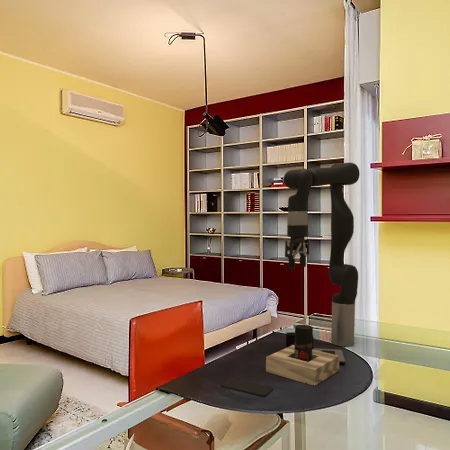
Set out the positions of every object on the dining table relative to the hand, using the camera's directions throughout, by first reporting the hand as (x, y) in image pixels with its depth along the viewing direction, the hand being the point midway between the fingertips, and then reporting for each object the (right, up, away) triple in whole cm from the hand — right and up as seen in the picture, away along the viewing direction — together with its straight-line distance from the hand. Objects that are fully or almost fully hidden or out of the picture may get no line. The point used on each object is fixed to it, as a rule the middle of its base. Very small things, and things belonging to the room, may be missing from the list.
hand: (297, 268), depth 152 cm
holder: (0, -34, -12) cm, 36 cm away
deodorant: (0, -34, -11) cm, 36 cm away
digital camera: (+3, -34, +10) cm, 35 cm away
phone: (-20, -34, -26) cm, 47 cm away
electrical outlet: (+12, -35, +2) cm, 37 cm away
